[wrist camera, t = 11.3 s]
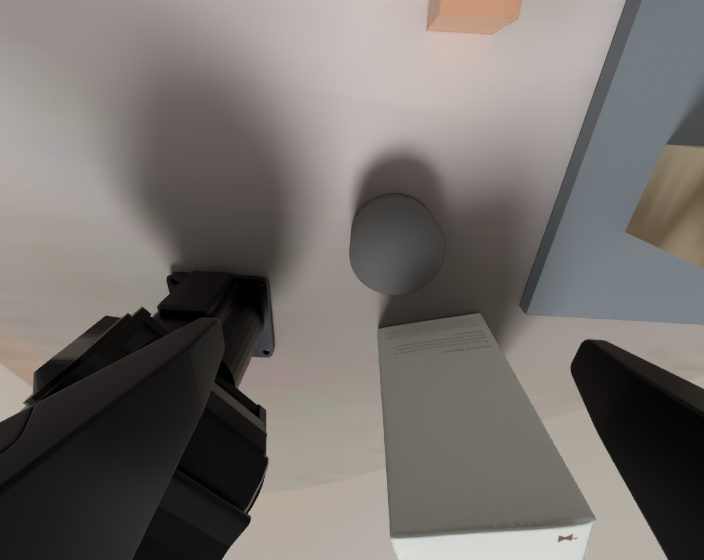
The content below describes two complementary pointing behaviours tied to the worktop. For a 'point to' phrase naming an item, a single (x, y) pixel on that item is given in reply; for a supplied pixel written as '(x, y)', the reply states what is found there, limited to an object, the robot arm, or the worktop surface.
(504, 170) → the worktop surface
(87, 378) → the robot arm
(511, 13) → the terracotta tile
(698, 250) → the beech block
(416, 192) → the worktop surface
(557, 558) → the supplement box
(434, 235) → the smooth grey pebble
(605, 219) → the slate board
